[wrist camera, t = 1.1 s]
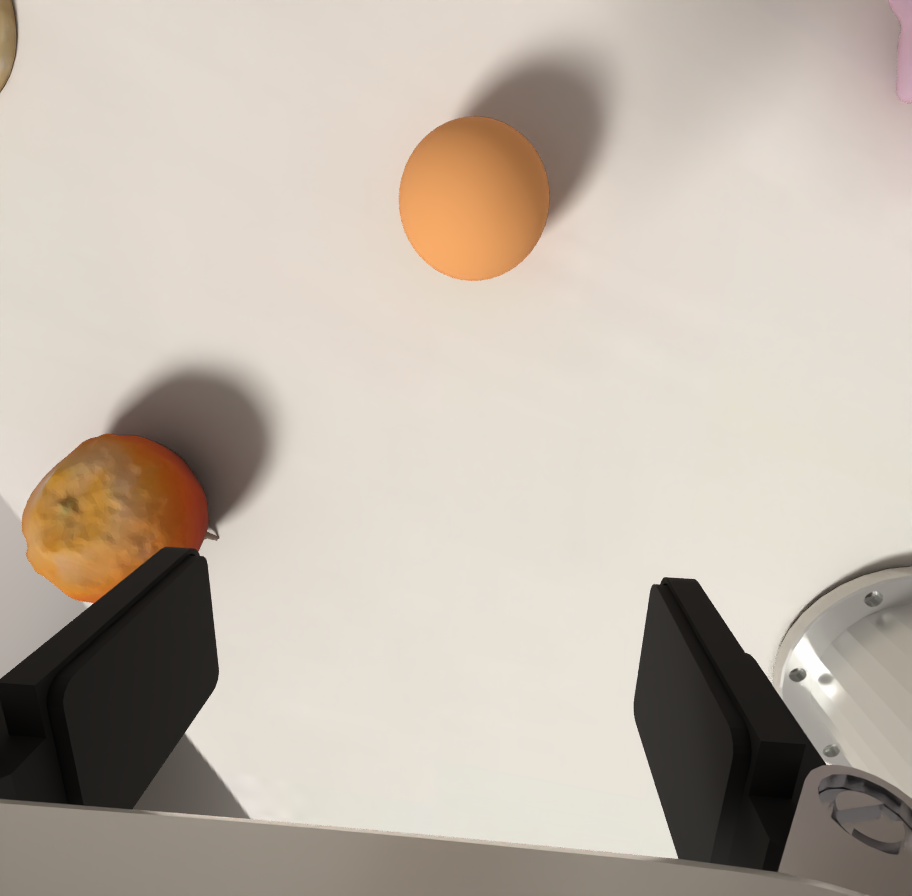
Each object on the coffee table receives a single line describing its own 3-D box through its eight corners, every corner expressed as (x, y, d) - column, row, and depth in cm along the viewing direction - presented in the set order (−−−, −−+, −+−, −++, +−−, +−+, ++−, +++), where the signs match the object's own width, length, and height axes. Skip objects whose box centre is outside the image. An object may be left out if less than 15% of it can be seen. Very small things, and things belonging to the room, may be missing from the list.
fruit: (131, 614, 31) (-13, 624, 24) (121, 480, 34) (-14, 449, 26) (261, 579, 30) (152, 578, 23) (242, 441, 32) (137, 398, 25)
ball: (548, 138, 25) (564, 95, 19) (538, 282, 26) (550, 283, 21) (411, 136, 25) (385, 93, 19) (410, 278, 27) (386, 278, 21)
